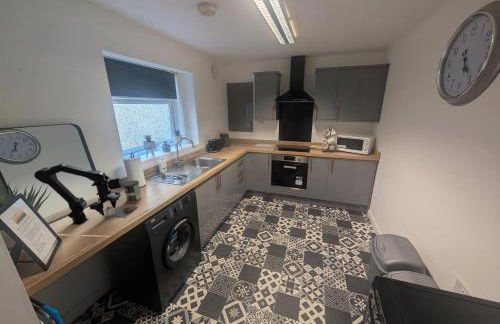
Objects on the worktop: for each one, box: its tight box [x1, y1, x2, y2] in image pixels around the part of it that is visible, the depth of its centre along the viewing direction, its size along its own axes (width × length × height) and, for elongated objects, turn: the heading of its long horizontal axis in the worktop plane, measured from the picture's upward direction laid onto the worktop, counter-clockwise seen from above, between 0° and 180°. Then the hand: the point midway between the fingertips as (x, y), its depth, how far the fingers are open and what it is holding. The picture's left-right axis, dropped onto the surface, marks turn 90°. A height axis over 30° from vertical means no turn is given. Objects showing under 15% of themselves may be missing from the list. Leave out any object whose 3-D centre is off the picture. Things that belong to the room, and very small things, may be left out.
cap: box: [103, 206, 114, 217], centre depth 126 cm, size 4×4×6 cm
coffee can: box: [122, 180, 142, 203], centre depth 147 cm, size 10×10×14 cm
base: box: [122, 203, 137, 212], centre depth 133 cm, size 7×7×2 cm
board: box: [102, 206, 139, 219], centre depth 131 cm, size 16×14×1 cm
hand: (109, 211), depth 126 cm, fingers open, 9 cm apart
